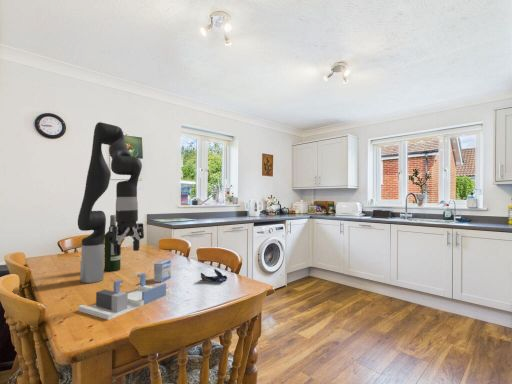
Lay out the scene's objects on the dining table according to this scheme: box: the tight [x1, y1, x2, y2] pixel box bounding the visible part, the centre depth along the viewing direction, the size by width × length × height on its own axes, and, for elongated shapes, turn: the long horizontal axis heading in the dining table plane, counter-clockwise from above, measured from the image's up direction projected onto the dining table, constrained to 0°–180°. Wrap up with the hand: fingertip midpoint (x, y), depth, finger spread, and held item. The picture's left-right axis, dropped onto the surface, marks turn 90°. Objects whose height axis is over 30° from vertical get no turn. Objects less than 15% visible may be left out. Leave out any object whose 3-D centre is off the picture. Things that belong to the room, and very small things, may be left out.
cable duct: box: [77, 272, 170, 321], centre depth 104 cm, size 16×26×7 cm, turn 154°
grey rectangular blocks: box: [95, 289, 129, 313], centre depth 98 cm, size 12×4×5 cm, turn 64°
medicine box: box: [153, 259, 172, 283], centre depth 133 cm, size 8×4×9 cm, turn 168°
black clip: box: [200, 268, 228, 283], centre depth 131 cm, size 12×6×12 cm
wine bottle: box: [104, 214, 122, 273], centre depth 151 cm, size 8×8×30 cm
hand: (127, 252), depth 103 cm, fingers open, 8 cm apart
